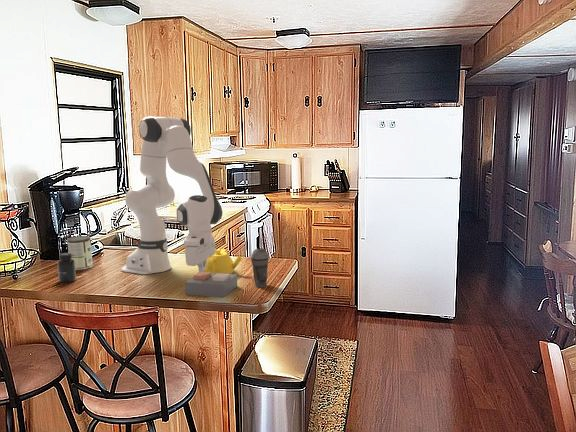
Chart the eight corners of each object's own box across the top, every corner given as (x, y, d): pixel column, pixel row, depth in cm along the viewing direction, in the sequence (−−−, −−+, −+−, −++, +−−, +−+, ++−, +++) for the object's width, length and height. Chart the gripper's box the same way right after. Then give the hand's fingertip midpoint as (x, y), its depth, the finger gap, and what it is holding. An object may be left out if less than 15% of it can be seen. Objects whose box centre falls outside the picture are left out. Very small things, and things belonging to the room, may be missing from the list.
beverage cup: (251, 283, 217) (250, 236, 213) (269, 282, 217) (267, 235, 214) (251, 288, 209) (250, 239, 206) (270, 287, 210) (268, 239, 207)
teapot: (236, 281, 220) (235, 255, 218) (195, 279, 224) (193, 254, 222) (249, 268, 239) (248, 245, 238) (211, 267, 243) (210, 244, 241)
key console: (185, 294, 204) (185, 282, 203) (201, 283, 217) (200, 272, 216) (224, 297, 200) (223, 284, 199) (237, 286, 213) (236, 274, 212)
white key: (212, 282, 205) (212, 276, 205) (217, 279, 210) (217, 273, 209) (224, 283, 204) (224, 277, 203) (229, 279, 208) (229, 273, 208)
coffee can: (70, 265, 252) (68, 236, 249) (93, 263, 254) (91, 235, 252) (68, 271, 242) (65, 241, 239) (92, 268, 244) (89, 239, 242)
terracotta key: (194, 281, 207) (193, 275, 207) (199, 277, 212) (199, 271, 211) (205, 282, 206) (205, 276, 205) (210, 278, 211) (210, 272, 210)
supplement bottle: (59, 284, 221) (57, 256, 219) (58, 280, 227) (55, 253, 225) (77, 281, 224) (74, 254, 222) (75, 277, 230) (72, 251, 228)
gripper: (204, 231, 217) (206, 264, 219) (181, 242, 197) (183, 277, 200) (218, 232, 215) (220, 264, 217) (196, 242, 195) (198, 278, 198)
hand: (202, 271), depth 208 cm, fingers closed
